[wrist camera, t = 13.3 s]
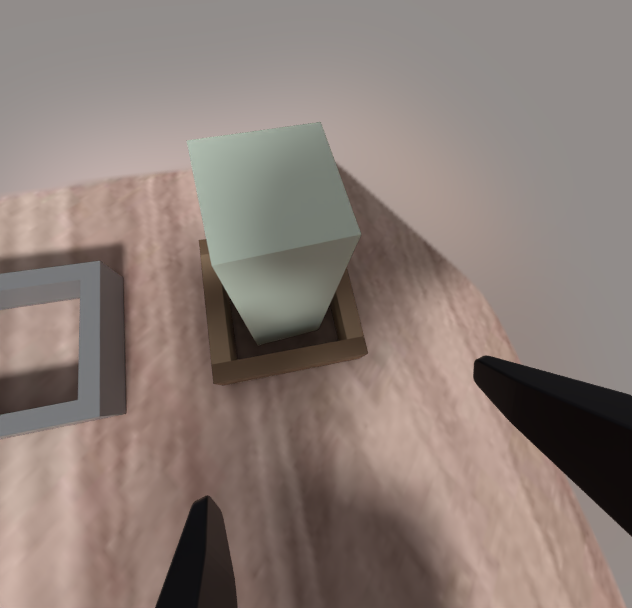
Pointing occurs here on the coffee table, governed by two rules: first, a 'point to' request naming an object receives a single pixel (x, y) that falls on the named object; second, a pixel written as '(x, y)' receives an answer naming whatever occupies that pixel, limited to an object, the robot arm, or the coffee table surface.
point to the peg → (275, 224)
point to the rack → (277, 363)
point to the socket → (94, 342)
